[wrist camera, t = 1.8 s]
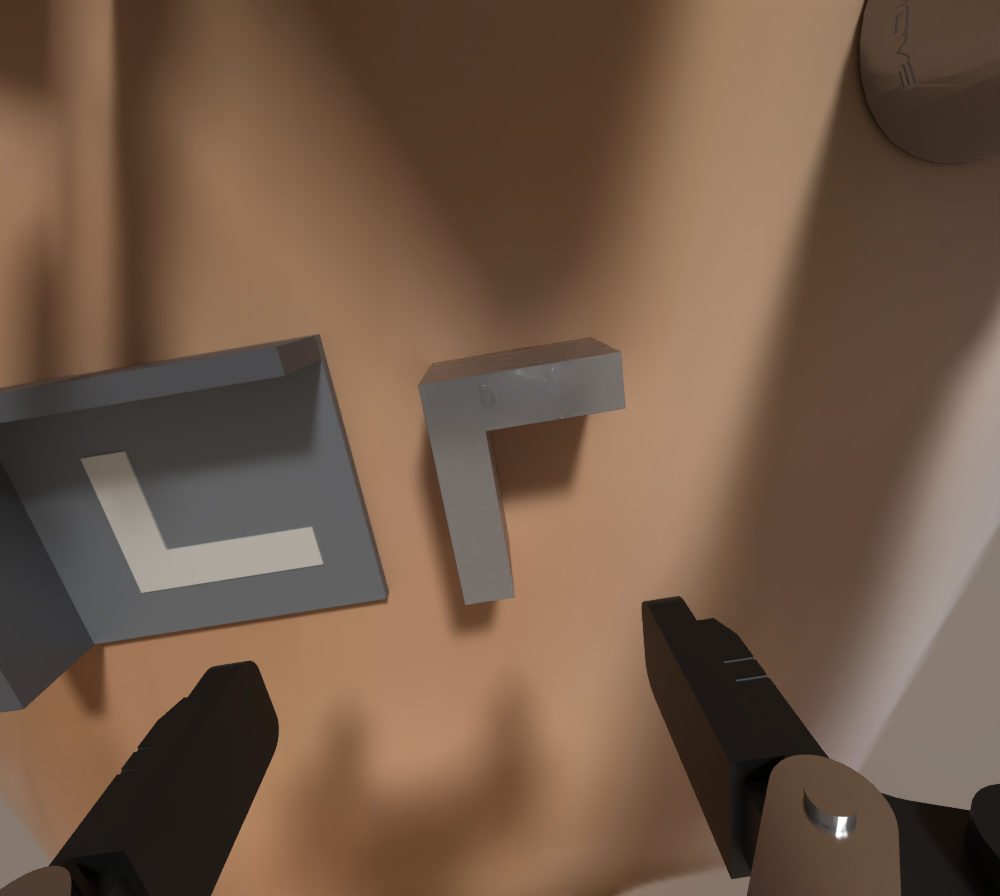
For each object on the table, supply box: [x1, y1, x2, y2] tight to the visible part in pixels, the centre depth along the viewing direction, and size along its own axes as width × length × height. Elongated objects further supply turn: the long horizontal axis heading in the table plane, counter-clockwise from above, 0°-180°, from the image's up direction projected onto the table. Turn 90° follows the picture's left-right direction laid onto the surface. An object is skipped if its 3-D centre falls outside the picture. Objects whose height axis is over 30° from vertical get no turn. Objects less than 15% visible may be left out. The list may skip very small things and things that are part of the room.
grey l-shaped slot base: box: [0, 334, 389, 712], centre depth 21 cm, size 16×13×5 cm
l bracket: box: [418, 337, 625, 605], centre depth 21 cm, size 9×7×5 cm
